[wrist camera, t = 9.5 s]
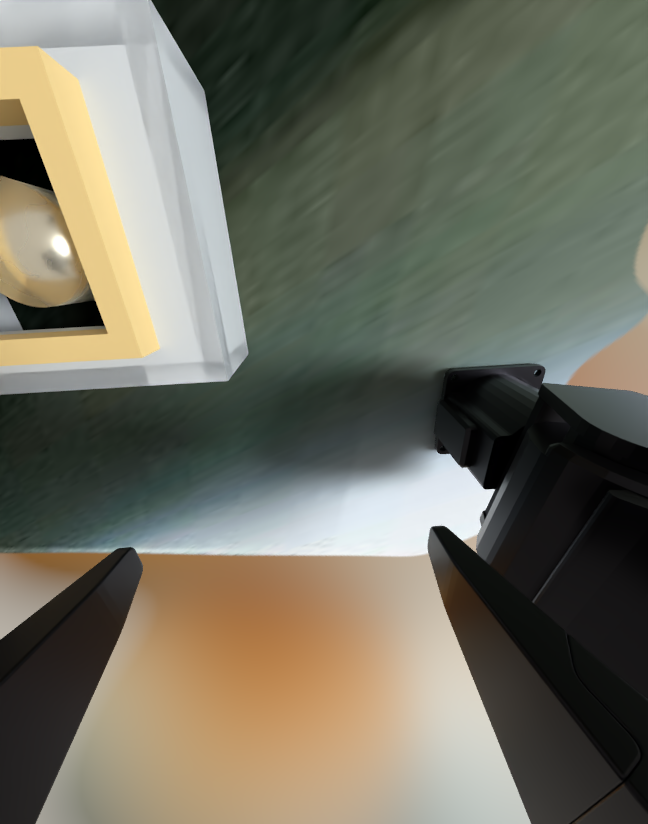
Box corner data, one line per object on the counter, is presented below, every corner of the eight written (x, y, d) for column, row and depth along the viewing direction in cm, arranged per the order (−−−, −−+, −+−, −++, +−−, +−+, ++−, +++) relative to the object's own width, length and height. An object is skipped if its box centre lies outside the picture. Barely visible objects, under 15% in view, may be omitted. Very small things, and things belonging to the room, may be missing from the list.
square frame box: (204, 90, 13) (115, -61, 7) (248, 353, 18) (218, 392, 12) (-114, 105, 13) (-476, -37, 7) (25, 367, 18) (-113, 412, 12)
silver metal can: (129, 200, 14) (47, 170, 10) (157, 294, 16) (99, 303, 12) (42, 206, 14) (-79, 179, 10) (81, 299, 16) (-6, 311, 12)
